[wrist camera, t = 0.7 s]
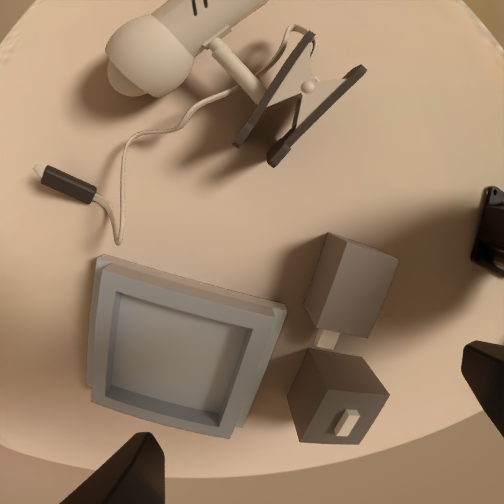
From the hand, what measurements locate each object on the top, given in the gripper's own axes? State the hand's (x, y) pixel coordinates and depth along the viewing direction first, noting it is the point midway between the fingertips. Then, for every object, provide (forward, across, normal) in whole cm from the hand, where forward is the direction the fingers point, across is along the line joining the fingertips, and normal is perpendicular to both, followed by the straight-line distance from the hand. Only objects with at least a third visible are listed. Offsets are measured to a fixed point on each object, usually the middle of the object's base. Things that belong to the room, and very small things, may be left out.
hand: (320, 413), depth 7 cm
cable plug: (+13, -4, +1) cm, 14 cm away
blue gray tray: (+13, +7, +4) cm, 15 cm away
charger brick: (+13, -2, +9) cm, 16 cm away
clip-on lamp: (+13, +3, -11) cm, 17 cm away
